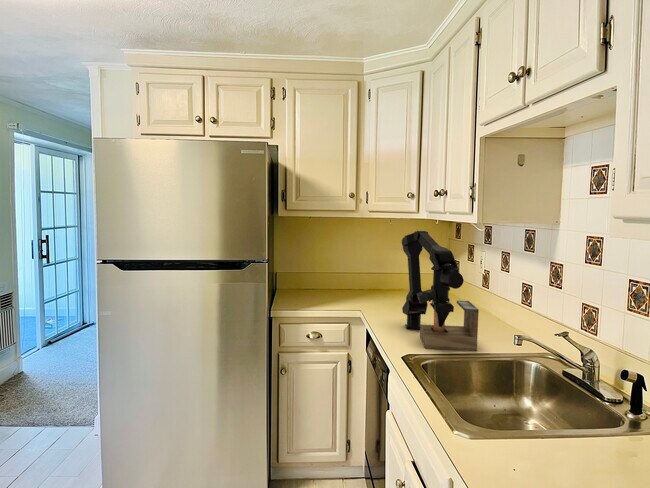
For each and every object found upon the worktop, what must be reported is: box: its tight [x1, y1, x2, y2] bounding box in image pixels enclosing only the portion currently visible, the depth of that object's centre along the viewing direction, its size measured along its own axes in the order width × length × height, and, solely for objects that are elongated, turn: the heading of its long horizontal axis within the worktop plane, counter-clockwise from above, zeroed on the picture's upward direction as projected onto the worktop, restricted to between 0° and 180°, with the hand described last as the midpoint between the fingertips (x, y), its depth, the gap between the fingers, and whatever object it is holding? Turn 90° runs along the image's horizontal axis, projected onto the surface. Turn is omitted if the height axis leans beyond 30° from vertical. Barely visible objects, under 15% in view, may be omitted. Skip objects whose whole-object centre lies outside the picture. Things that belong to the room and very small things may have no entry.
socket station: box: [419, 300, 479, 352], centre depth 153 cm, size 14×18×15 cm
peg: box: [433, 309, 446, 332], centre depth 153 cm, size 4×4×8 cm
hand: (439, 325), depth 153 cm, fingers closed on peg, 4 cm apart
